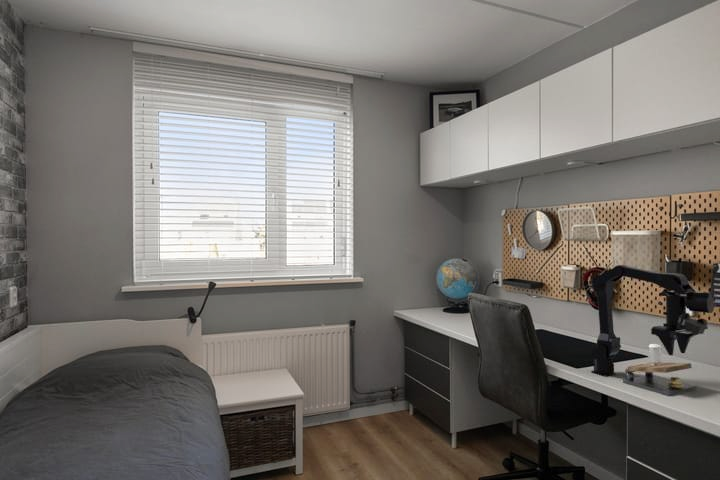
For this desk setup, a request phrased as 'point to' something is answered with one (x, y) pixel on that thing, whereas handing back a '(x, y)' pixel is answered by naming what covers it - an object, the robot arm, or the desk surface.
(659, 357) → the milkshake
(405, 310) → the desk surface
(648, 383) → the base
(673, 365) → the top plate
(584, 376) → the desk surface
